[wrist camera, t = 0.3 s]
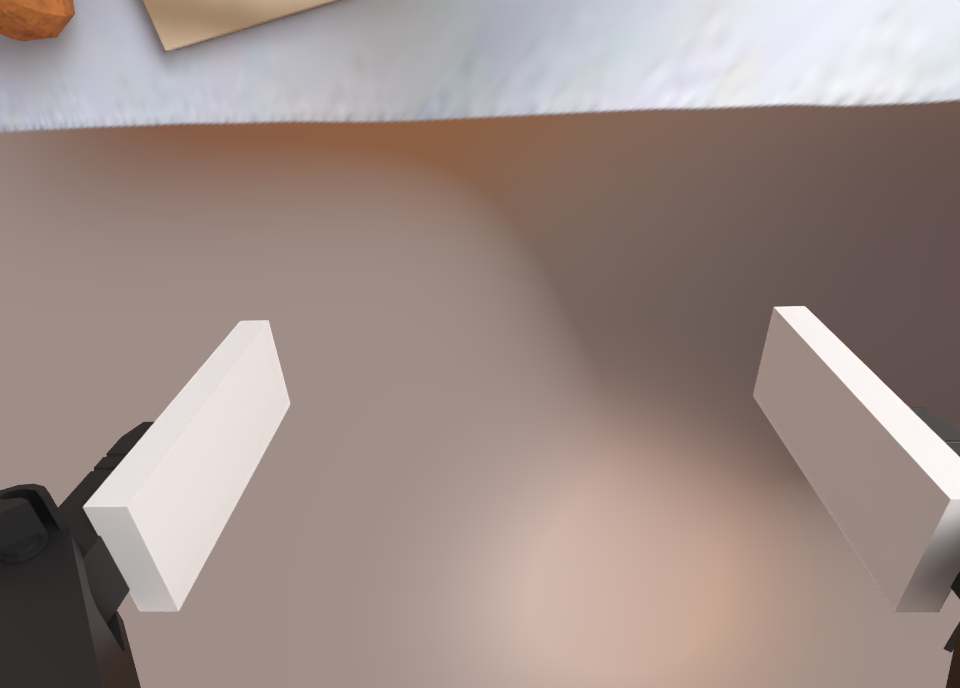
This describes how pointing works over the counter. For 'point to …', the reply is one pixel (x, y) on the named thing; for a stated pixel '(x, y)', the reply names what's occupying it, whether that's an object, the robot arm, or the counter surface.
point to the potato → (34, 18)
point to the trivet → (216, 17)
